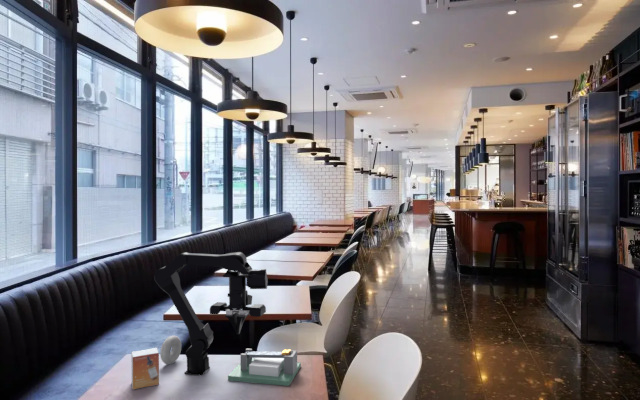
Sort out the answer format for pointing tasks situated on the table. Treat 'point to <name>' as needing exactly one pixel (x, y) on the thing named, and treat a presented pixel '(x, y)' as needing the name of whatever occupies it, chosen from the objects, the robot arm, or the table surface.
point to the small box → (145, 368)
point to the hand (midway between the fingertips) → (238, 333)
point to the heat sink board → (261, 378)
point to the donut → (166, 347)
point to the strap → (268, 354)
